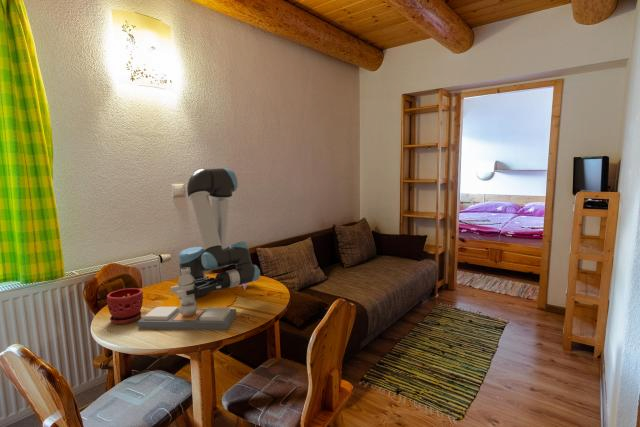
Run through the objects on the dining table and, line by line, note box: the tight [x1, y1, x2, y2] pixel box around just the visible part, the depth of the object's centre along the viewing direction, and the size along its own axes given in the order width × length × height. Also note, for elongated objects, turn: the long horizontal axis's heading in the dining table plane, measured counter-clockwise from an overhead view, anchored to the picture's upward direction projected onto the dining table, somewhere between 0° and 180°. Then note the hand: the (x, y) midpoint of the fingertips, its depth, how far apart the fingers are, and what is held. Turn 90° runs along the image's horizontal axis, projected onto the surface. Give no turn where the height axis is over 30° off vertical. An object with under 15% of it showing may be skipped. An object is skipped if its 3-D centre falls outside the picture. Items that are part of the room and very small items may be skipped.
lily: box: [238, 282, 254, 290], centre depth 181 cm, size 12×12×10 cm
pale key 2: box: [200, 306, 232, 321], centre depth 138 cm, size 9×9×2 cm
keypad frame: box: [137, 308, 237, 331], centre depth 138 cm, size 13×36×3 cm, turn 88°
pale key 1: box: [143, 306, 179, 320], centre depth 139 cm, size 9×9×2 cm
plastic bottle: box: [177, 267, 198, 316], centre depth 137 cm, size 6×7×20 cm
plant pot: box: [106, 287, 144, 325], centre depth 141 cm, size 13×13×12 cm
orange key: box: [173, 310, 204, 321], centre depth 138 cm, size 9×9×2 cm
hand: (174, 292), depth 133 cm, fingers closed on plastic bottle, 6 cm apart
